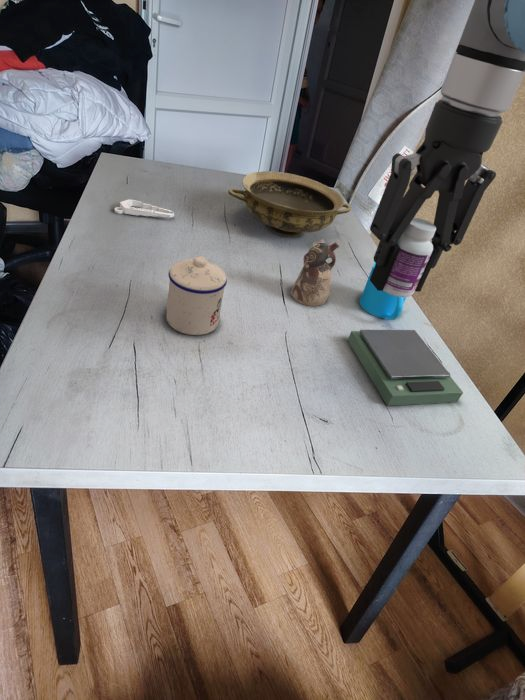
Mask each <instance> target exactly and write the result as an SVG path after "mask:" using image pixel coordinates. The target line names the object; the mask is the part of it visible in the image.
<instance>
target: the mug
mask: <svg viewBox="0 0 525 700" xmlns="http://www.w3.org/2000/svg"><path fill="white" fill-rule="evenodd" d="M375 264H376V263H375V262H374V263H373V265H372V267H371V270H370V272H369V275H368V277H367V280H366V283H365V285H364V288H363V291H362V293H361V296H360V299H359V305H360V307H361V308H362V309H363V310H364V311H365V312H366V313H368V314H370V315H372V316H374V317H377V318H379V319H380V318H381V319H386V320H389V321H393V320H396V319H397V318H399V316H400V315H401V313H402V311H403V307H404V303H405V301H406V299H407V297H398V296H394V295H391V294H389V293H387V292H385V291H378V290H377V289H376V288H375V286H374V285H373V284H372V283H371V281H370V277H371V275H372V272H373V270H374V267H375Z"/></svg>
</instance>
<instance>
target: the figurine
mask: <svg viewBox="0 0 525 700" xmlns="http://www.w3.org/2000/svg"><path fill="white" fill-rule="evenodd" d="M339 247H340V245H339V243H338V242H337V241H335V242H334V243H331V244H330V245H329V243H328V241H327V240H326V239H323V238H322V239H320V240H317V241H314V242H313V243H312V244H311V246H310V248H309V250H308V252H307V253H305V254H304V255H303V258H302V261H303V266H302V268H301V270H300V272H299V274H298V275H297V278H296V280H295V282H294V283H293V287H292V289H291V293H290V295H291V297H292V298H293V299H294V300H295V301H297V302H298V303H299V304H301V305H303V306H304V305H305V306H309V307H318V306H322V305H324V304H325V303H326V301H327V299H328V297H329V295H330V291H331V285H332V269H333V268H334V266H335V264H336V261H337V259H336V258H337V257H336V254H335V252H334V251H336V249H338V248H339ZM329 258H330V259H331V262H327V260H328V259H329Z"/></svg>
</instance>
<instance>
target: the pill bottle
mask: <svg viewBox="0 0 525 700" xmlns="http://www.w3.org/2000/svg"><path fill="white" fill-rule="evenodd" d="M433 224H434V223H433V222H430V221H428V220H426V219H423V218H419V217H414V218H413V220H412V221H411V222H410V224H409V225H408V227H407V228H406V230H405V231H404V233H403V234H402V236H401V237H400V239H399V240H398V242H397V243H396V244H397V245H398V246H399V247H400V250H399V252H398V255H397V257H396V260H395V262H394V265H393V267H392V270H391V272H390V274H389V277H388V279H387V282H386V284H385V287H384V289H383V291H385V292H387V293H389V294H391V295H394V296H398V297H406V298H408V297H411V296H412V295H414V293H415V292H416V291H415V289H416V287H417V285H418V283H419V280H420V278H421V276H422V274H423V271H424V269H425V267H426V265H427V263H428V261H429V258H430V256H431V254H432V251H433V244H432V240H431V239H432V238H433V236H434V234H435V231H436V226H435V225H433Z"/></svg>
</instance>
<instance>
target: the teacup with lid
mask: <svg viewBox="0 0 525 700" xmlns="http://www.w3.org/2000/svg"><path fill="white" fill-rule="evenodd" d="M168 279H169V280H168V281H169V282H168V293H167V305H166V306H167V307H166V322H167V323H168V325H169V326H170V327H171V328H172V329H174V330H175V331H177V332H179V333H182V334H185V335H190V336H203V335H207V334H210V333H212V332H213V331H215V329H216V328H217V327H218V325H219V322H220V316H221V308H222V303H223V297H224V291H225V287H226V285H227V283H228V279H227V275H226V273H225V271H224V270H223V269H222V268H221V267H220V266H218V265H216V264H215V263H212V262H210V261H207V258H205V257H204V256H201V255H199V256H195V257H194V258H189V259H183V260H179V261H177V262H175V263H173V264H172V266H171V267H170V269H169V271H168Z"/></svg>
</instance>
